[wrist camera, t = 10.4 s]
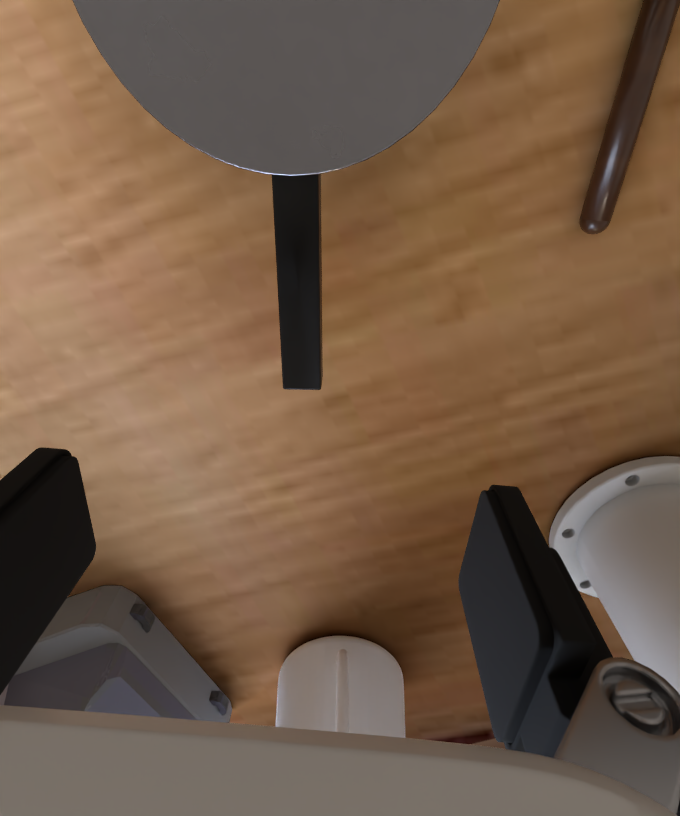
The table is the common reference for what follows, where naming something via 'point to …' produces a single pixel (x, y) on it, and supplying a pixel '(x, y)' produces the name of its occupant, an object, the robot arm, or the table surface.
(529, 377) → the table surface
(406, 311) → the table surface
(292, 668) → the coffeepot
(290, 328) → the saucepan
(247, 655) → the table surface
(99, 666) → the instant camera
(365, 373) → the table surface
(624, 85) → the spatula
